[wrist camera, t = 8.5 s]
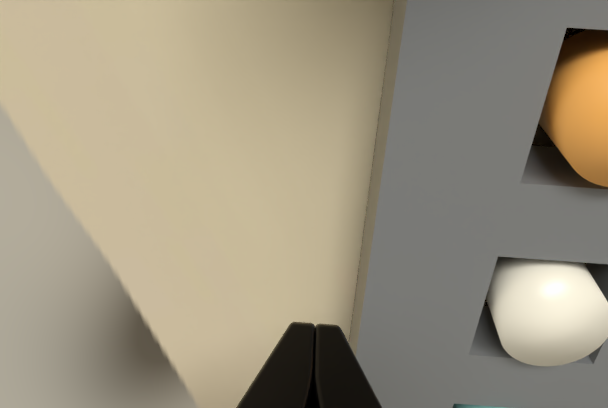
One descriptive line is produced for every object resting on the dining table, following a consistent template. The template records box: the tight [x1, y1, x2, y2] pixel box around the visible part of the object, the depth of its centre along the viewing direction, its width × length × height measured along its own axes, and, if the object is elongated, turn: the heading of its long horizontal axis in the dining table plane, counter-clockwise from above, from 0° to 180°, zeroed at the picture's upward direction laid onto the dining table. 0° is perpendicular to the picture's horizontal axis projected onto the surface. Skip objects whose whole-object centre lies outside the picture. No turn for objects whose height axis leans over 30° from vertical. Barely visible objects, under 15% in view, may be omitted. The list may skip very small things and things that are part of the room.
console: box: [349, 0, 608, 408], centre depth 22 cm, size 14×24×3 cm, turn 177°
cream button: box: [486, 256, 608, 366], centre depth 22 cm, size 4×4×3 cm
